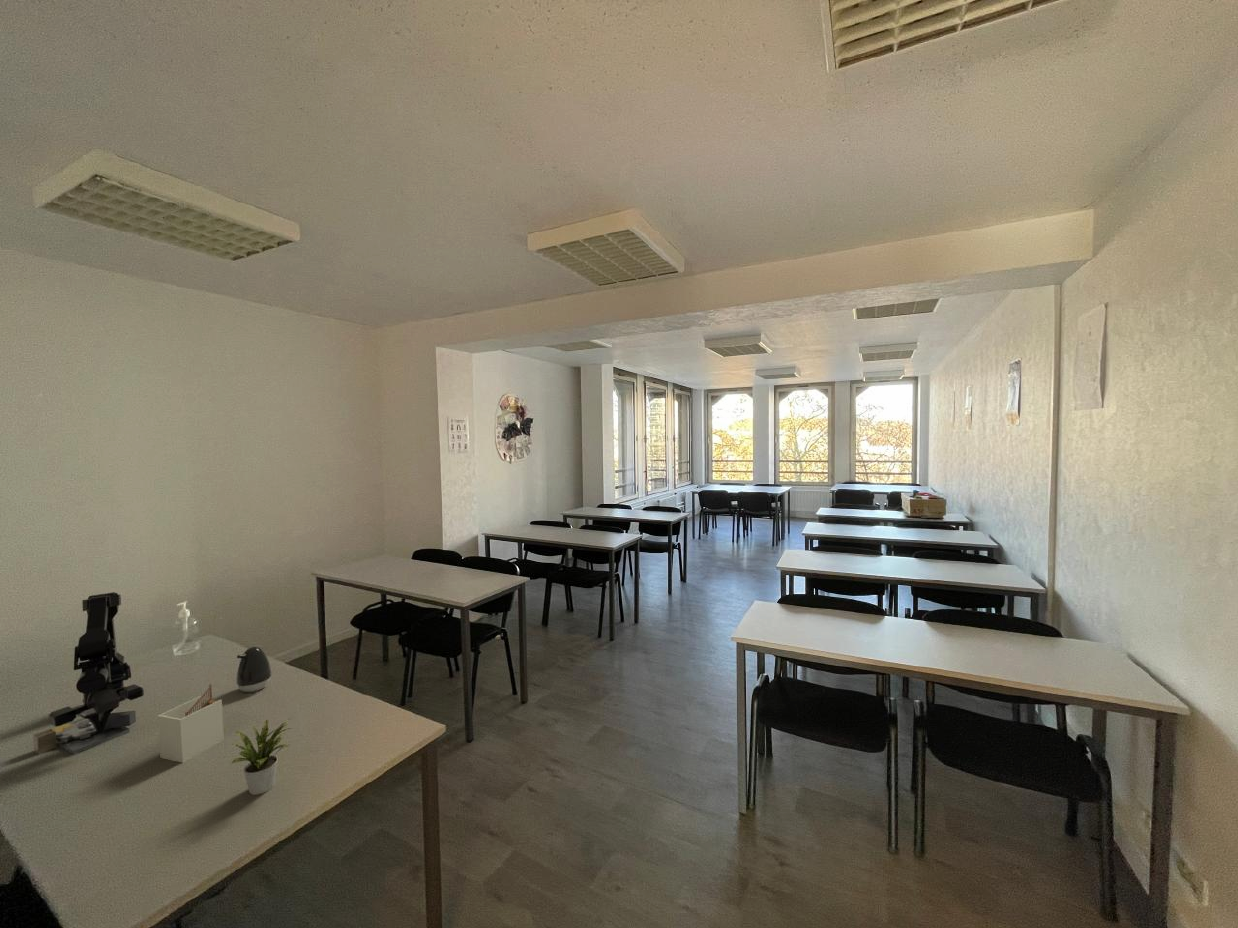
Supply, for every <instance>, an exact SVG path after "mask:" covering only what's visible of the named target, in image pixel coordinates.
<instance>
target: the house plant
mask: <svg viewBox="0 0 1238 928" xmlns="http://www.w3.org/2000/svg"><path fill="white" fill-rule="evenodd" d="M291 719H292V718H291V717H290V718H289V719H287V720H285V721H284V722H282V723H281V724H280V725H279V726H278V727H277V728H275V729H273V730H272V731H270V732H269V730H270V729H269V719H266V720H265V722H264V724H263V726H262V728H261V732H260V734H259V732H258V730H257V728H256V727H255V726H252V727H253V731H254V733H255V738H254V740H256V744H257V748H258V749H257V750H256V749H255V747H254V745H253V743H252V741H251V739H250V737H249V736H248V735H247V734H245V733H242V732H240V731H236V730H235V733H236V734H237V735H238V736H239V737H240V739H241V741H242V742H243V744H244V746H243V745H241V744H238V743H232V745H233V746H235V747H238V748H239V749H241V750H242V751H239V755H240V756H241V757H237V758H235V759H233V760H231V762H230V763H229V765H231V764H235V763H236V764H237V763H240V762H245V761H246V762H248V763H247V764H246V765H244V768H243V774H244V777H245V781H246V785H247V788H248V792H249V793H250V795H254V796H257V795H261V794H264V793H266V792H268V791H270V790H272V788H273V787H275V784H276V777H277V776H276V775H277V769H278V763H279V762H278V761H279V758H278V756H277V755H276V754H277V753H278V752H279V751H280V750H282V749H283V748H287V747H288V748H290V744H284V743H283V744H279V743H280V742H281V741H282V740H283V739H284V737H282V736H284V733H283V732H285V731H287V730H291V729H293V727H288V728H284V727H285V726H287V725H288V724H286V723H288V722H289V721H290V720H291ZM271 734H272V735H271ZM279 734H280V735H279ZM270 735H271V736H270ZM278 735H279V736H278ZM269 736H270V738H269V739H267V738H268V737H269ZM275 750H277V751H276V752H275V753H274V754H272V753H273V752H274V751H275Z"/></svg>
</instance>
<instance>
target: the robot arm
mask: <svg viewBox="0 0 1238 928" xmlns="http://www.w3.org/2000/svg"><path fill="white" fill-rule="evenodd" d="M81 602H82V612H86V613H87V619H86V621H87V622H86V627H85V628H86V629H85V633H83V634H82V635H81V636H80V637H79V638H78V642H77V643H78V644H77V645H76V646H75V647H74V654H73V655H74V658H73V670H74V671H76V670H77V671H78V670H81V673H80V676H79V678H78V680H77V682H76V687H75V688H76V690H77V691H78V693H81V694H82V695H83V697H82V698H83V699H82V703H83V705H81V706H77V707H74V708H72V707H71V706H66V707H63V708H59V709H57V710H54V711H51V712H50V713H49V714H48V719H47V720H48V723H49V724H50V725H53V726H54V728H57V727H59V726H62V725H65V724H68V723H71V722H74V721H75V719H76V718H77V715H78V717H80V718H81V719H82V718H84V719H87V718H88V719H89V721H90V722H91V723H92V725H93V726H94V728H95V729H96V730H97V732H98V733H100V732H103V730H104V727H105V725H106V722H107V720H108V717H109V715H110V713H113V711H114V710H115V709H117V708H119V706H120V703H121V702H123V701H125V700H130V701H134V700H136V699H138V698H142V697H143V696H144V695H145V694H144V693H145V691H144V689H143V687H141V686H140V685H137V684H131V685H128V686H125V685H124V684H125V683H124V681H128V680H129V679H130V678H132V669H131V666H130V665H129V664H128V662H125V656H124V655H122V654H121V653H120V652H118V650H117V637H116V628H115V620H114V618H115V617H116V615H118V612H119V607H120V606H121V605H122V596H121V594H120V593H119V594H118V593H117V592H115V591H113V592H107V593H100V594H99V593H98V594H93V595H89V596H88V597H87V599H83V600H82V601H81Z"/></svg>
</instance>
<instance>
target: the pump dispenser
mask: <svg viewBox="0 0 1238 928" xmlns="http://www.w3.org/2000/svg"><path fill="white" fill-rule="evenodd" d="M265 653H266V652H265V651H264V650H263V649H262V648H261V647H259V646H251V647H249V648H247V649H246V650H244V652H243V654H238V655H237V656H236V658H237V659H240V660H239V663H238V666H237V670H236V679H235V683H236V685H237V687H238V688H239V690H240V691H242V692H245V693H253V692H257V691H260V690H261V689H264V688H265V687H266V686H267V685H268V684H269V682H270V680H271V677H272V675H273V673H272V668H271V664H270V661H269V659H268V656H267V654H265Z"/></svg>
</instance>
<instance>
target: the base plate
mask: <svg viewBox="0 0 1238 928" xmlns="http://www.w3.org/2000/svg"><path fill="white" fill-rule="evenodd" d="M83 719H84V718H82V717H81V718H80V719H76V720H73V721H72V722H69V723H66V724H63V725H61V726H56V727H54V728H52V729H53V730H54V731H56V733H57V732H60V731H63V730H62V727H64V726H66V725H68V724H74V723H76V722H79V721H82V720H83ZM128 733H130V728H129V727H128V726H123V727H115V728H108V729H107V730H105V731H103V732H100V733H98V732H97V733H95V734H92V735H91V736H90V737H88V738H84V739H81V740H80V738H78V739H73V740H70V741H68V742H60V739H58V740H56V745H58V746H60V748H62V749H64V751H67V752H68V753H69V754H71V755H76V754H78V753H82V752H84V751H86V750H89V749H91V748H93V747H95V746H98V745H101V744H103V743H106V742H108V741H110V740H113V739H116V738H118V737H121V736H123V735H126V734H128Z"/></svg>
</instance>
